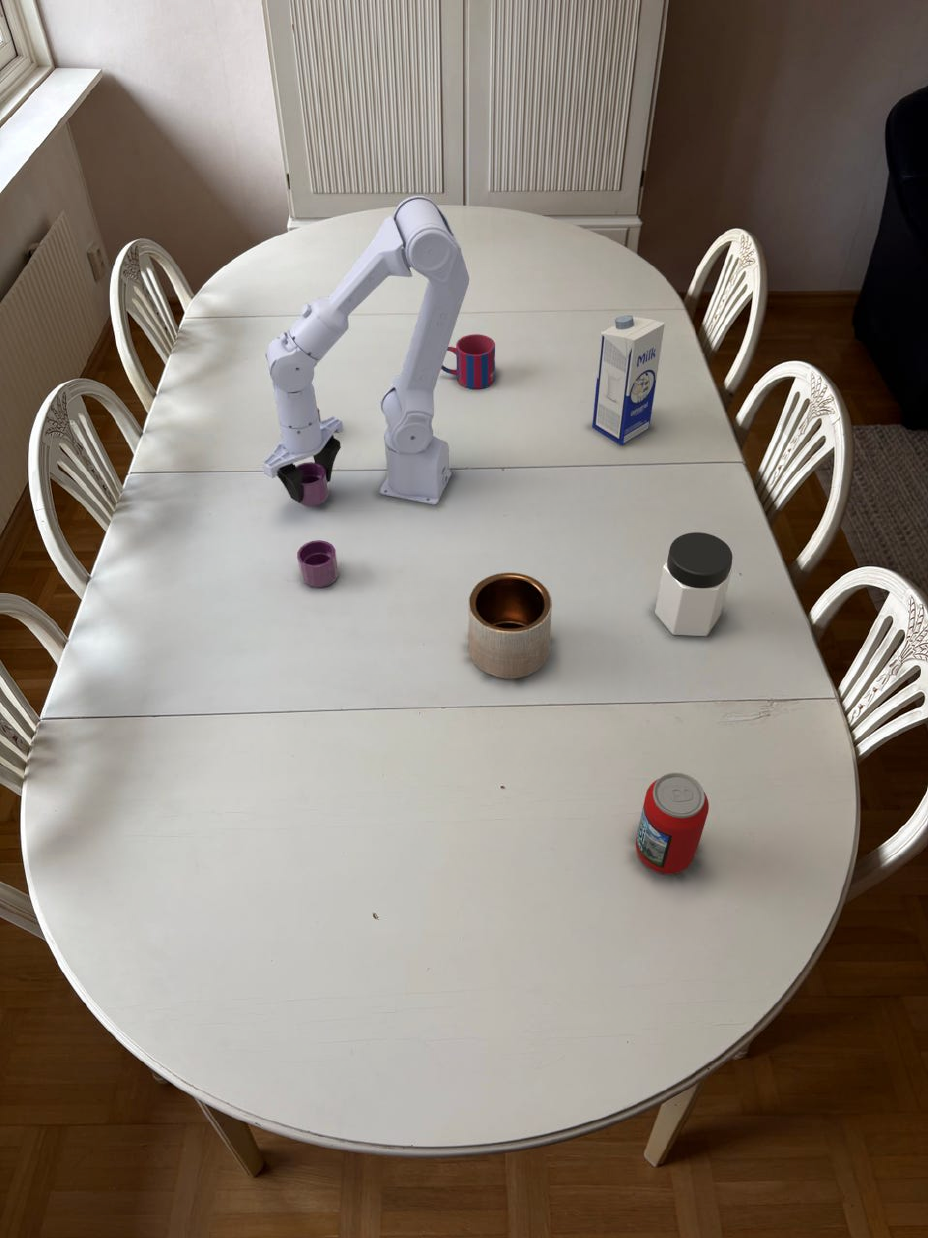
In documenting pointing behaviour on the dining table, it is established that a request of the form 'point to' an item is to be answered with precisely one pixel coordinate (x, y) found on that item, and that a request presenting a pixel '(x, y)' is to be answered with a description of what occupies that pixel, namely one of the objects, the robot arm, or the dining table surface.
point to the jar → (694, 584)
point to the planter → (509, 625)
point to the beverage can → (671, 823)
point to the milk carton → (627, 377)
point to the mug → (474, 361)
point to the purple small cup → (318, 563)
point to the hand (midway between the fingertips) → (310, 489)
